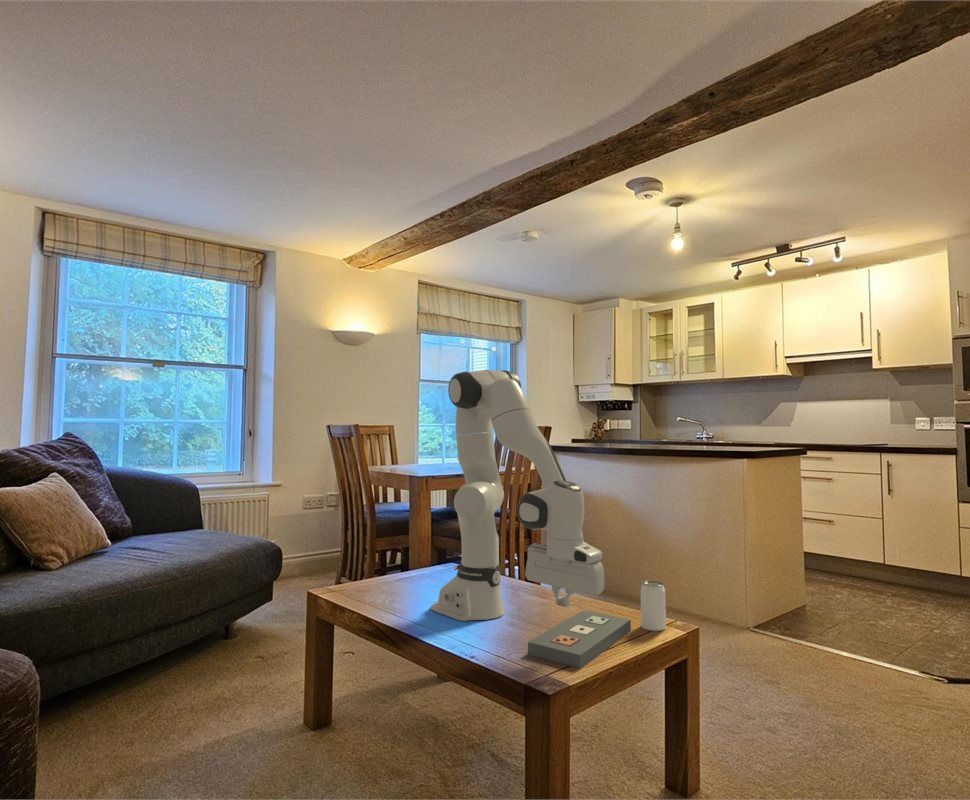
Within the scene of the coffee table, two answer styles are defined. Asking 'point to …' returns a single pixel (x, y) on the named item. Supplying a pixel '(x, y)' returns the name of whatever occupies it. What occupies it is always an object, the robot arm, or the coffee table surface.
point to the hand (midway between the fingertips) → (562, 605)
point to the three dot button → (565, 640)
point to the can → (653, 606)
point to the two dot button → (597, 620)
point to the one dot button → (582, 630)
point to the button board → (586, 645)
